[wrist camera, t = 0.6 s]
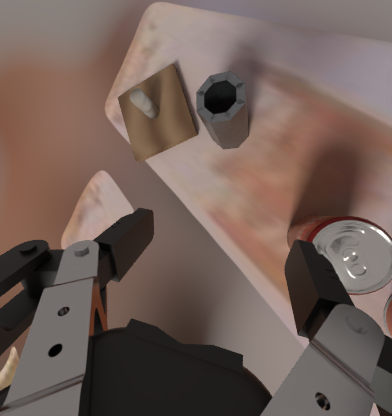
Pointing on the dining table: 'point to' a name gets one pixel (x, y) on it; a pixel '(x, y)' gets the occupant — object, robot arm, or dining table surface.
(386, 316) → the canned food
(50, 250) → the robot arm
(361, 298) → the dining table surface
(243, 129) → the sleeve
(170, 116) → the stand
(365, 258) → the soda can
